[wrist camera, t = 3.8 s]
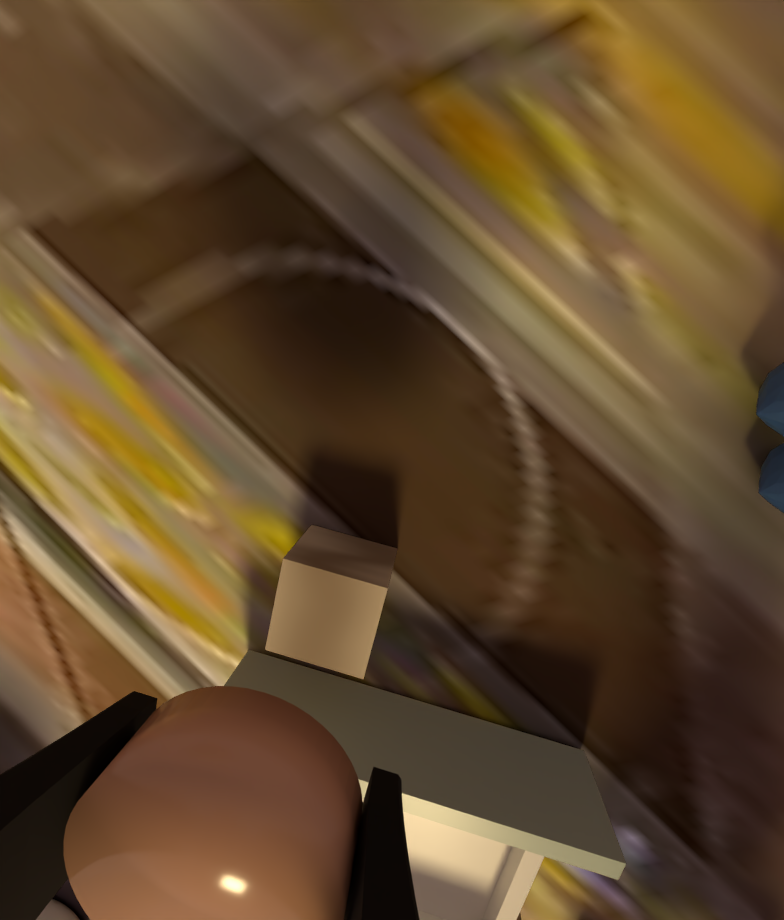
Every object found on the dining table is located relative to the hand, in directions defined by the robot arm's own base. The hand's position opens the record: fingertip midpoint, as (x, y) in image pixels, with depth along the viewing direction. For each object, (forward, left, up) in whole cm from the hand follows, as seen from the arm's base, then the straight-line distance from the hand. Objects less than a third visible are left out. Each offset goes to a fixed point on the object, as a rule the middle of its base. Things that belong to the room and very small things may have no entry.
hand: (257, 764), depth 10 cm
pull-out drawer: (-4, +10, -9) cm, 15 cm away
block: (0, 0, -10) cm, 10 cm away
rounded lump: (0, 0, +1) cm, 1 cm away
